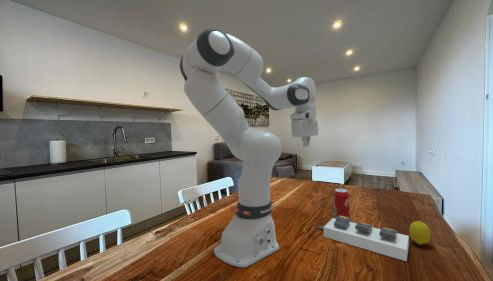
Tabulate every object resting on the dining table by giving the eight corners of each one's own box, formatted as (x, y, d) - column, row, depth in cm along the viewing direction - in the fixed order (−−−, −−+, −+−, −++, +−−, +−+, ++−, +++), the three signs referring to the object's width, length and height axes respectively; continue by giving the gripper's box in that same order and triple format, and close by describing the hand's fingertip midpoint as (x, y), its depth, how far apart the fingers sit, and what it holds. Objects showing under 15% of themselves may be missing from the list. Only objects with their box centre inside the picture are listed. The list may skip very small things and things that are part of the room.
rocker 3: (394, 240, 65) (394, 234, 65) (379, 236, 67) (379, 230, 68) (396, 235, 70) (396, 229, 70) (382, 231, 72) (382, 226, 72)
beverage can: (351, 220, 90) (350, 192, 89) (335, 219, 91) (334, 192, 90) (347, 214, 96) (347, 188, 95) (332, 214, 97) (331, 188, 96)
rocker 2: (368, 233, 69) (368, 227, 70) (355, 229, 72) (355, 224, 72) (372, 229, 74) (372, 224, 74) (359, 226, 77) (359, 221, 77)
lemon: (404, 240, 73) (405, 217, 73) (421, 240, 73) (421, 217, 73) (417, 249, 68) (417, 224, 67) (435, 249, 67) (435, 224, 67)
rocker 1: (346, 230, 74) (345, 225, 74) (334, 226, 77) (333, 222, 76) (350, 221, 79) (350, 216, 78) (339, 218, 81) (338, 214, 81)
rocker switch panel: (406, 261, 62) (406, 249, 62) (312, 233, 80) (312, 224, 80) (408, 246, 69) (408, 235, 69) (322, 223, 87) (322, 215, 87)
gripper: (308, 116, 105) (309, 144, 105) (288, 115, 89) (288, 148, 90) (321, 115, 101) (321, 144, 101) (302, 114, 85) (302, 148, 86)
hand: (306, 146), depth 95 cm, fingers closed
